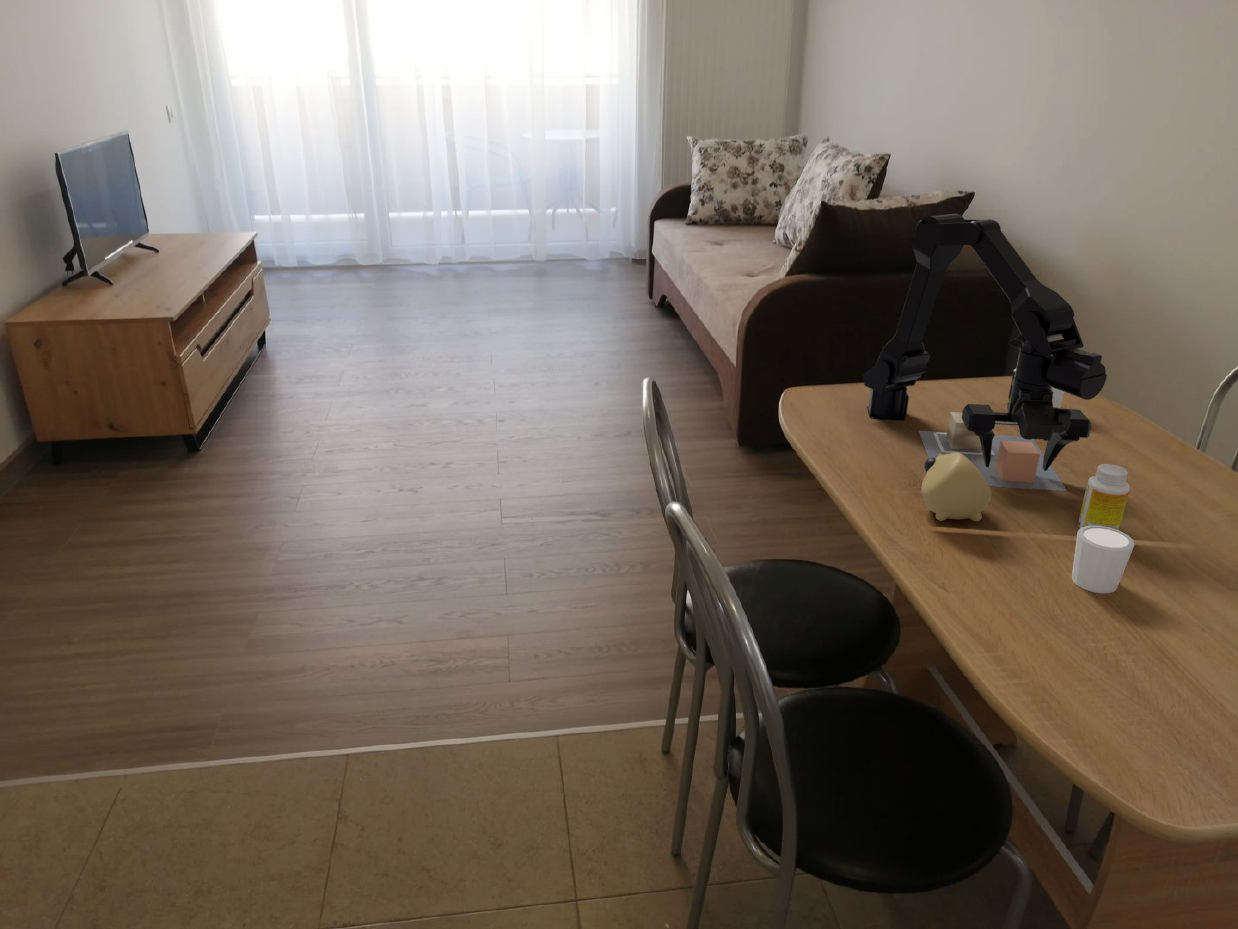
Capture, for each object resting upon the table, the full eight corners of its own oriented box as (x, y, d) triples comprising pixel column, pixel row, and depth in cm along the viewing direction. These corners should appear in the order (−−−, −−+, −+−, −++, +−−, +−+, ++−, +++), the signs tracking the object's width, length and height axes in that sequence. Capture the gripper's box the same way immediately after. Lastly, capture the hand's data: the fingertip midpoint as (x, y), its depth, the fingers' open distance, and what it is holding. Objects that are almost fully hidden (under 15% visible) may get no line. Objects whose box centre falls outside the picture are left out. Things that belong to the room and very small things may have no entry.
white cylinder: (1119, 601, 123) (1131, 555, 120) (1062, 586, 126) (1073, 541, 123) (1125, 577, 128) (1137, 533, 125) (1070, 563, 131) (1081, 519, 128)
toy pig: (972, 498, 149) (983, 437, 145) (993, 535, 138) (1006, 471, 134) (909, 496, 150) (918, 435, 145) (925, 532, 139) (935, 468, 135)
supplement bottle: (1125, 540, 137) (1142, 477, 133) (1088, 540, 137) (1103, 477, 133) (1106, 521, 142) (1121, 460, 138) (1070, 522, 142) (1084, 461, 138)
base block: (951, 448, 165) (955, 422, 163) (946, 437, 170) (950, 411, 168) (980, 450, 165) (985, 424, 163) (974, 439, 169) (979, 413, 167)
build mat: (938, 486, 153) (939, 482, 153) (918, 433, 173) (918, 430, 172) (1066, 494, 151) (1067, 490, 150) (1031, 440, 170) (1031, 436, 170)
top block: (1002, 480, 154) (1007, 452, 152) (995, 467, 158) (1000, 440, 156) (1034, 482, 153) (1040, 454, 151) (1026, 469, 158) (1031, 442, 156)
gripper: (983, 394, 142) (967, 485, 149) (1112, 400, 140) (1090, 493, 147) (968, 370, 153) (953, 457, 159) (1089, 375, 150) (1068, 463, 157)
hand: (1015, 468), depth 155 cm, fingers open, 9 cm apart
